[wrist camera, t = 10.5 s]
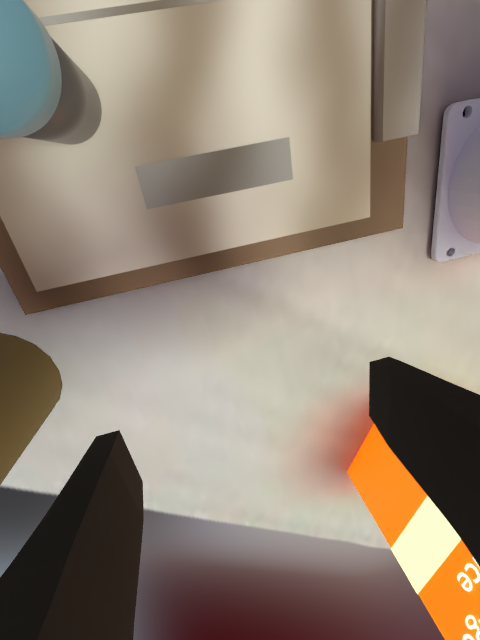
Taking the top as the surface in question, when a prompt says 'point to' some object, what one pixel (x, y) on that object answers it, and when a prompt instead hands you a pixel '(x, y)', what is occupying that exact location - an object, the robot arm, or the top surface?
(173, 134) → the clipboard
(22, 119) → the marker
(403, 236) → the top surface
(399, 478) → the orange juice
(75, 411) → the top surface
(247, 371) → the top surface
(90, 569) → the robot arm
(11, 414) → the cork
